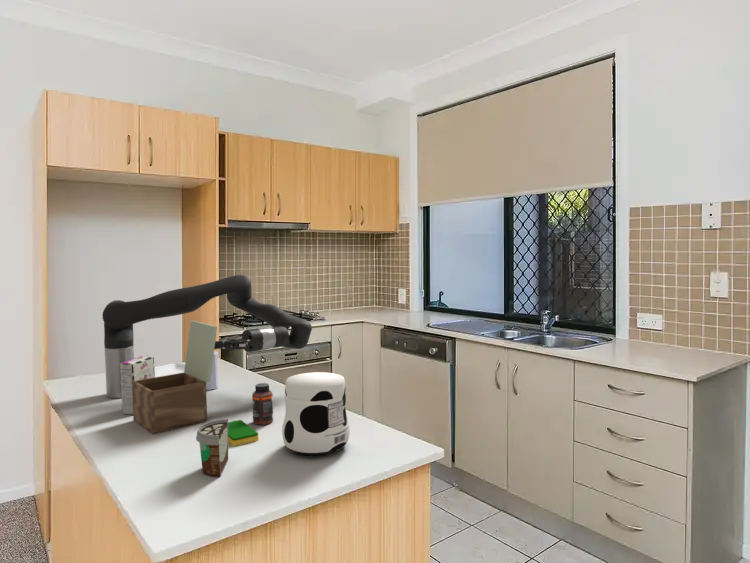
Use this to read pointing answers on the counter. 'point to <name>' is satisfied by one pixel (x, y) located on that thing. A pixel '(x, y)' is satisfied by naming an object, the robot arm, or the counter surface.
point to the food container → (213, 447)
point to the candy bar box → (134, 378)
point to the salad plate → (169, 369)
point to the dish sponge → (241, 433)
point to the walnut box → (169, 402)
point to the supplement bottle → (262, 404)
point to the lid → (200, 350)
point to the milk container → (315, 413)
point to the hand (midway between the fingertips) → (209, 346)
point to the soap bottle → (213, 374)
